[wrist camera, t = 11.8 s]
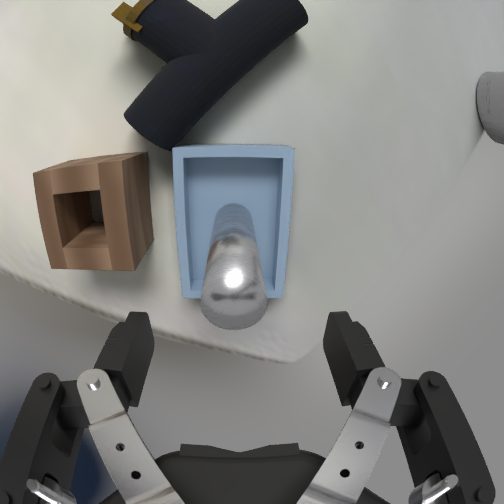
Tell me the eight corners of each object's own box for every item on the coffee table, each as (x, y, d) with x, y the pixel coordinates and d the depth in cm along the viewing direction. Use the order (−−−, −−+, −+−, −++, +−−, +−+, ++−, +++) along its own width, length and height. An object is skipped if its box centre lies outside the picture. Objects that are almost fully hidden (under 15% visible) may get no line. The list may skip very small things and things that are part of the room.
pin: (252, 203, 24) (269, 275, 13) (251, 238, 25) (265, 329, 14) (214, 203, 23) (197, 275, 13) (215, 238, 25) (202, 329, 14)
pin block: (147, 151, 22) (121, 160, 17) (153, 239, 26) (134, 270, 20) (69, 160, 22) (32, 173, 16) (80, 240, 25) (51, 268, 20)
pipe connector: (61, 69, 14) (202, -64, 10) (90, 75, 19) (206, -35, 15) (163, 154, 18) (316, 13, 14) (177, 147, 23) (299, 32, 19)
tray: (287, 145, 23) (294, 148, 20) (278, 280, 28) (282, 297, 25) (179, 144, 22) (172, 147, 19) (187, 281, 28) (182, 298, 25)
